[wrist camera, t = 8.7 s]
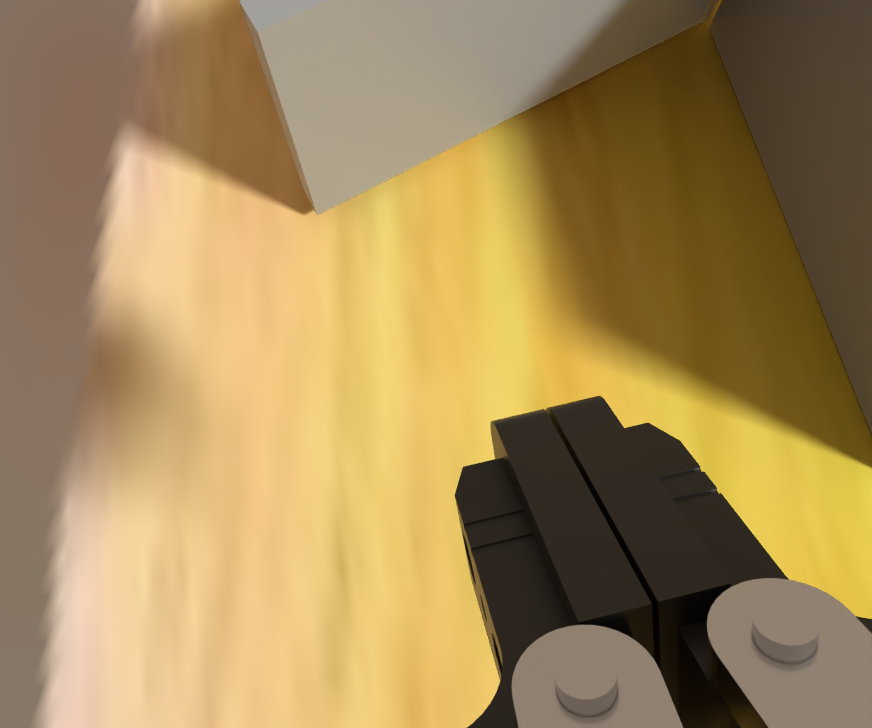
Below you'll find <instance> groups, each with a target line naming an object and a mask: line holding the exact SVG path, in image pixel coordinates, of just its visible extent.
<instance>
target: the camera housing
mask: <svg viewBox="0 0 872 728" xmlns="http://www.w3.org/2000/svg"><path fill="white" fill-rule="evenodd" d="M709 29H710V32H711V34H712V37H713V39H714V42H715V44H716V47H717V49H718V52H719V54H720V57H721V59H722V62H723V64H724V67H725V69H726V72H727V74H728V77H729V79H730V82H731V84H732V87H733V89H734V92H735V94H736V97H737V99H738V102H739V104H740V107H741V109H742V112H743V114H744V117H745V119H746V122H747V124H748V127H749V129H750V132H751V134H752V137H753V139H754V142H755V144H756V147H757V149H758V152H759V154H760V157H761V159H762V162H763V164H764V167H765V169H766V172H767V174H768V177H769V179H770V182H771V184H772V187H773V189H774V192H775V194H776V197H777V199H778V202H779V204H780V207H781V209H782V212H783V214H784V217H785V219H786V222H787V224H788V227H789V229H790V232H791V234H792V237H793V239H794V242H795V244H796V247H797V249H798V252H799V254H800V257H801V259H802V262H803V264H804V267H805V269H806V272H807V274H808V277H809V279H810V282H811V284H812V287H813V289H814V292H815V294H816V297H817V299H818V302H819V304H820V307H821V309H822V312H823V314H824V317H825V319H826V322H827V324H828V327H829V329H830V332H831V334H832V337H833V339H834V342H835V344H836V347H837V349H838V352H839V354H840V357H841V359H842V362H843V364H844V367H845V369H846V372H847V374H848V377H849V379H850V382H851V384H852V387H853V389H854V392H855V394H856V397H857V399H858V402H859V404H860V407H861V409H862V412H863V414H864V417H865V419H866V422H867V424H868V427H869V429H870V432H871V434H872V0H723V1H722V3H721V5H720V7H719V9H718V11H717V13H716V15H715V17H714V19H713V21H712V23H711V25H710V27H709Z"/></svg>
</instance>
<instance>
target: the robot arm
mask: <svg viewBox="0 0 872 728" xmlns="http://www.w3.org/2000/svg"><path fill="white" fill-rule="evenodd" d="M491 435H492V441H493V447H494V454H495V459H494V460H490V461H486V462H482V463H478V464H473V465H469V466H465V467H463V469H462V472H461V476H460V479H459V483H458V486H457V489H456V493H455V499H456V504H457V509H458V514H459V519H460V524H461V529H462V534H463V539H464V544H465V549H466V554H467V560H468V565H469V570H470V575H471V580H472V583H473V587H474V590H475V594H476V597H477V601H478V604H479V608H480V610H481V614H482V618H483V622H484V625H485V629H486V632H487V636H488V639H489V643H490V646H491V650H492V653H493V657H494V660H495V664H496V667H497V671H498V674H499V678H500V684H499V687H498V690H497V692H496V694H495V696H494V698H493V700H492V702H491V703H490V705H489V706H488V707H487V709H486V710H485V711H484V713H483V714H482V715H481V716H480V717H479V718H478V719H477V720H476V721H475V722H474V723H473V724H471V725H470V726H469V727H467V728H872V619H867V618H862V617H857V616H854V614H853V613H852V612H851V611H850V610H849V609H847V608H846V607H845V606H844V605H843V604H842V603H841V602H839V601H838V600H836V599H835V598H834V597H832V596H831V595H829V594H827V593H825V592H823V591H821V590H820V589H818V588H815V587H812V586H810V585H807V584H804V583H800V582H797V581H793V580H789V579H788V578H787V577H786V576H785V575H784V573H783V572H782V571H781V569H780V568H779V567H778V566H777V564H776V563H775V562H774V560H773V559H772V558H771V557H770V555H769V554H768V553H767V552H766V550H765V549H764V548H763V546H762V545H761V544H760V543H759V541H758V540H757V539H756V537H755V536H754V535H753V534H752V532H751V531H750V530H749V528H748V527H747V526H746V525H745V523H744V522H743V521H742V520H741V518H740V517H739V516H738V514H737V513H736V512H735V511H734V509H733V508H732V507H731V505H730V504H729V503H728V502H727V500H726V499H725V498H724V496H723V495H722V494H721V493H720V494H718V492H717V487H716V486H715V485H714V484H713V482H712V481H711V480H710V479H709V477H708V476H707V475H706V473H705V472H701V469H700V466H699V464H698V463H697V462H696V461H695V459H694V458H693V457H692V455H691V454H690V453H689V452H688V450H687V449H686V448H685V447H684V445H683V444H682V443H681V441H679V440H678V439H676V438H674V437H672V436H671V435H669V434H667V433H665V432H664V431H662V430H660V429H658V428H657V427H655V426H653V425H651V424H649V423H645V424H641V425H636V426H632V427H628V428H624V427H623V426H622V424H621V423H620V421H619V420H618V419H617V417H616V416H615V414H614V413H613V411H612V410H611V408H610V407H609V405H608V404H607V403H606V401H605V400H604V399H603V398H602V397H601V396H596V397H592V398H588V399H583V400H579V401H575V402H571V403H566V404H562V405H558V406H554V407H549V408H547V409H546V411H545V410H544V409H542V410H538V411H533V412H529V413H525V414H521V415H516V416H512V417H508V418H503V419H499V420H495V421H491Z"/></svg>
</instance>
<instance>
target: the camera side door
mask: <svg viewBox="0 0 872 728" xmlns="http://www.w3.org/2000/svg"><path fill="white" fill-rule="evenodd" d="M239 2H240V5H241V8H242V11H243V14H244V17H245V20H246V22H247V25H248V28H249V31H250V34H251V37H252V40H253V43H254V46H255V49H256V52H257V55H258V58H259V61H260V64H261V66H262V69H263V72H264V75H265V78H266V81H267V84H268V87H269V90H270V93H271V96H272V99H273V102H274V105H275V108H276V111H277V113H278V116H279V119H280V122H281V125H282V128H283V131H284V134H285V137H286V140H287V143H288V146H289V149H290V152H291V155H292V158H293V160H294V163H295V166H296V169H297V172H298V175H299V178H300V181H301V184H302V187H303V190H304V193H305V194H306V196H307V198H308V200H309V201H310V203H311V205H312V207H313V208H314V210H315V212H316V214H317V215H319V214H321V213H323V212H325V211H327V210H329V209H331V208H333V207H335V206H337V205H339V204H341V203H343V202H345V201H347V200H349V199H351V198H353V197H355V196H357V195H359V194H361V193H363V192H365V191H367V190H369V189H371V188H373V187H375V186H377V185H379V184H381V183H383V182H385V181H387V180H389V179H391V178H393V177H395V176H396V175H398V174H400V173H402V172H404V171H406V170H408V169H410V168H412V167H414V166H416V165H418V164H420V163H422V162H424V161H426V160H428V159H430V158H432V157H434V156H436V155H438V154H440V153H442V152H444V151H446V150H448V149H450V148H452V147H454V146H456V145H458V144H460V143H462V142H464V141H466V140H468V139H470V138H472V137H474V136H476V135H478V134H480V133H482V132H484V131H486V130H488V129H490V128H492V127H494V126H496V125H498V124H500V123H502V122H504V121H506V120H508V119H510V118H512V117H514V116H516V115H518V114H520V113H522V112H524V111H526V110H528V109H530V108H532V107H534V106H536V105H538V104H540V103H542V102H544V101H546V100H548V99H550V98H552V97H554V96H556V95H558V94H560V93H562V92H564V91H566V90H568V89H570V88H572V87H574V86H576V85H578V84H580V83H582V82H584V81H586V80H588V79H590V78H592V77H594V76H596V75H598V74H600V73H602V72H604V71H606V70H608V69H610V68H612V67H614V66H616V65H618V64H620V63H622V62H623V61H625V60H627V59H629V58H631V57H633V56H635V55H637V54H639V53H641V52H643V51H645V50H647V49H649V48H651V47H653V46H655V45H657V44H659V43H661V42H663V41H665V40H667V39H669V38H671V37H673V36H675V35H677V34H679V33H681V32H683V31H685V30H687V29H689V28H691V27H693V26H695V25H697V24H702V23H704V22H706V21H708V20H709V18H710V17H711V15H712V13H713V10H714V8H715V6H716V4H717V2H718V0H240V1H239Z"/></svg>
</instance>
